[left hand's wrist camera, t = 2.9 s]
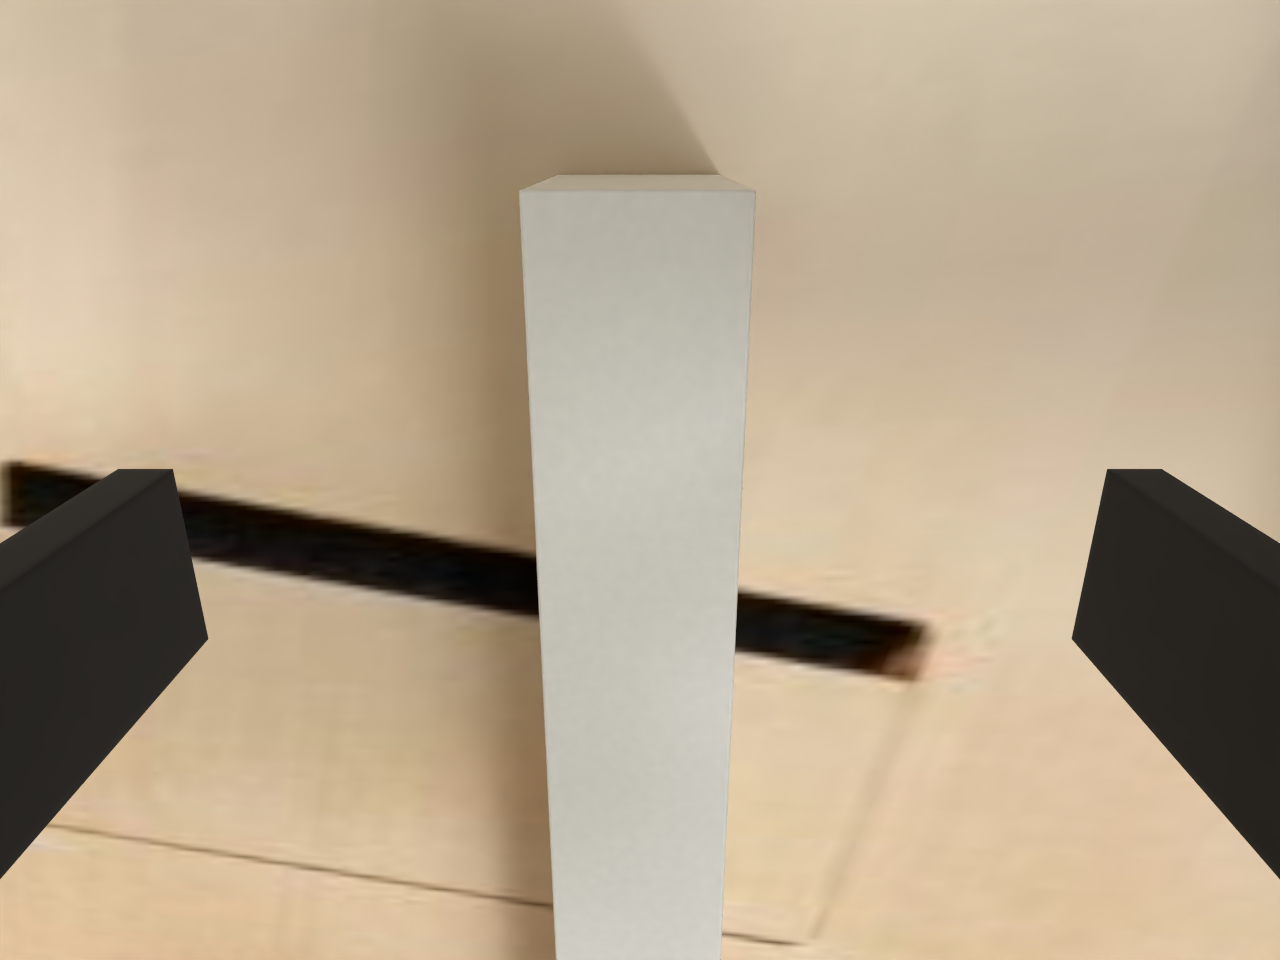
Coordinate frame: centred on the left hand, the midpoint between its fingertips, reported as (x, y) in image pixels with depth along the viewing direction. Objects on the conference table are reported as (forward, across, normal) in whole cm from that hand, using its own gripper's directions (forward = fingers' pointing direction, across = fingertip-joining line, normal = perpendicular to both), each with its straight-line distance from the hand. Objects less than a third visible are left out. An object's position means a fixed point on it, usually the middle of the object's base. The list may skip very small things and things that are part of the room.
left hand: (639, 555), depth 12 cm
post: (+16, 0, -24) cm, 29 cm away
